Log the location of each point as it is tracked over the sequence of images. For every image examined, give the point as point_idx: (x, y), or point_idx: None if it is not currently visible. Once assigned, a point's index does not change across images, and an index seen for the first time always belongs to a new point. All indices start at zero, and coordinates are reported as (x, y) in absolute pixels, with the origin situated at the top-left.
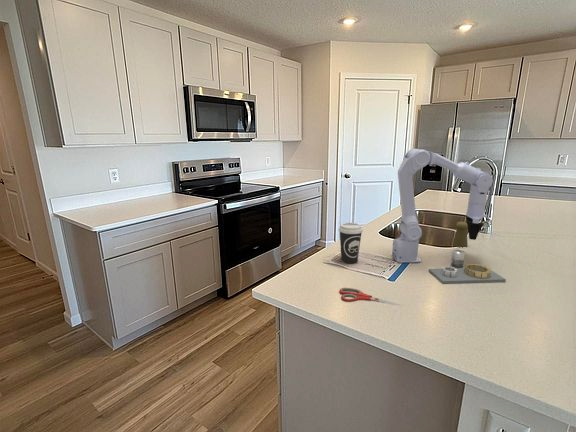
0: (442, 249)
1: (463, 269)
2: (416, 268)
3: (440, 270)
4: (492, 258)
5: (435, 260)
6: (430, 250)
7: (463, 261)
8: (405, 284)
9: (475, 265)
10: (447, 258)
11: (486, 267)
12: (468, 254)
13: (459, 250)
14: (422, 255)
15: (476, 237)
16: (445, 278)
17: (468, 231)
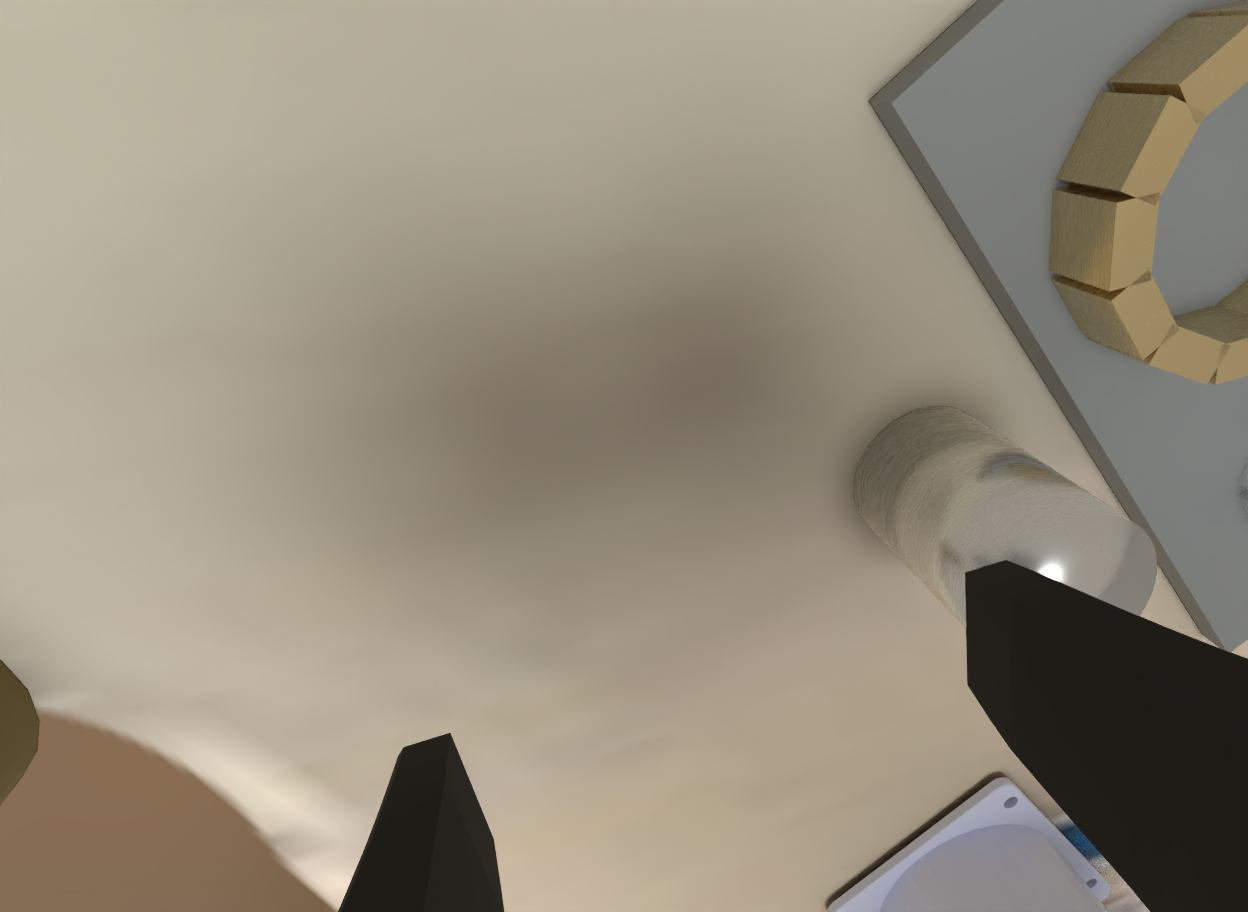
0: (367, 805)
1: (1122, 371)
2: None
3: (1236, 559)
4: (171, 85)
5: (857, 705)
6: (530, 871)
7: (981, 443)
8: None
9: (1148, 259)
10: (704, 640)
11: (1205, 86)
12: (300, 488)
13: None
14: (771, 848)
15: (1062, 585)
16: None
17: (497, 901)
